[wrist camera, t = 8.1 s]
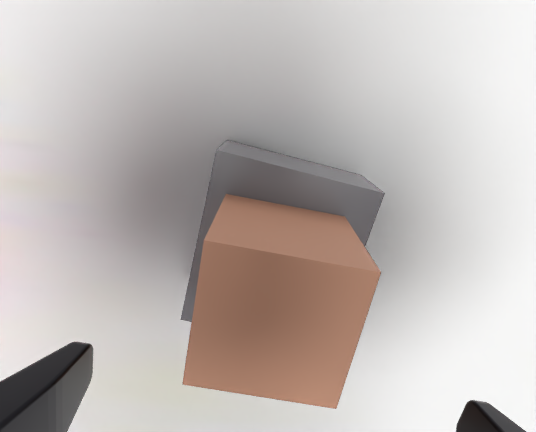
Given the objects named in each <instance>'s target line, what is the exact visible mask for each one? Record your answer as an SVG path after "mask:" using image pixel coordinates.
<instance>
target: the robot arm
mask: <svg viewBox="0 0 536 432" xmlns="http://www.w3.org/2000/svg"><path fill="white" fill-rule="evenodd" d="M92 372H93V347H92V345H91V344H88V343H82V342H72V343H70V344H68V345H66V346H64V347H63V348H61V349H59V350H57V351H55V352H53V353H52V354H50V355H48V356H46V357H44V358H42V359H41V360H39V361H37V362H35V363H33V364H32V365H30V366H28V367H26V368H24V369H22V370H21V371H19V372H17V373H15V374H13V375H11V376H10V377H8V378H6V379H4V380H2V381H1V382H0V432H67V431H68V428H69V426H70V424H71V422H72V420H73V418H74V416H75V414H76V411H77V409H78V407H79V405H80V403H81V401H82V399H83V397H84V394H85V392H86V390H87V388H88V386H89V384H90V381H91V378H92ZM456 432H526V431H525V430H523V429H522V428H521V427H519V426H518V425H517V424H515V423H514V422H513V421H511V420H510V419H509V418H508V417H506V416H505V415H504V414H502V413H501V412H500V411H498V410H497V409H496V408H494V407H493V406H492V405H490V404H489V403H486V402H482V401H475V400H470V401H469V402H467V404H466V406H465V408H464V410H463V412H462V414H461V417H460V419H459V421H458V423H457V427H456Z"/></svg>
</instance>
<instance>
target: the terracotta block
mask: <svg viewBox="0 0 536 432" xmlns="http://www.w3.org/2000/svg"><path fill="white" fill-rule="evenodd" d="M380 274H381V272H380V270H379V268H378V267H377V265H376V264H375V262H374V261H373V259H372V258H371V256H370V255H369V253H368V251H367V250H366V248H365V247H364V245H363V244H362V242H361V241H360V239H359V237H358V236H357V234H356V233H355V231H354V230H353V228H352V227H351V225H350V224H349V222H348V220H347V219H346V217H345V216H340V215H335V214H329V213H324V212H319V211H313V210H308V209H303V208H298V207H292V206H287V205H282V204H276V203H271V202H266V201H261V200H255V199H250V198H245V197H240V196H234V195H229V194H226V195H225V197H224V199H223V201H222V203H221V205H220V208H219V210H218V212H217V214H216V216H215V218H214V220H213V222H212V224H211V226H210V228H209V231H208V233H207V235H206V237H205V239H204V243H203V249H202V256H201V263H200V270H199V276H198V283H197V290H196V297H195V303H194V310H193V317H192V324H191V330H190V337H189V344H188V350H187V357H186V364H185V371H184V377H183V385H189V386H196V387H202V388H208V389H215V390H221V391H227V392H233V393H240V394H246V395H252V396H259V397H265V398H271V399H278V400H284V401H290V402H296V403H303V404H309V405H315V406H322V407H328V408H334V409H336V408H337V405H338V402H339V399H340V396H341V393H342V390H343V387H344V383H345V380H346V377H347V374H348V371H349V368H350V365H351V362H352V359H353V356H354V353H355V350H356V347H357V344H358V341H359V338H360V335H361V332H362V329H363V326H364V323H365V320H366V317H367V314H368V311H369V308H370V304H371V301H372V298H373V295H374V292H375V289H376V286H377V283H378V280H379V277H380Z"/></svg>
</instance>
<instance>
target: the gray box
mask: <svg viewBox="0 0 536 432" xmlns="http://www.w3.org/2000/svg"><path fill="white" fill-rule="evenodd" d="M226 194H229V195H234V196H240V197H245V198H250V199H255V200H261V201H266V202H271V203H276V204H282V205H287V206H292V207H298V208H303V209H308V210H313V211H319V212H324V213H329V214H335V215H340V216H345V217H346V219H347V220H348V222H349V224H350V225H351V227H352V228H353V230H354V231H355V233H356V234H357V236H358V237H359V239H360V241H361V242H362V244H363V245H364V247H365V245H366V242H367V239H368V237H369V234H370V231H371V229H372V226H373V223H374V221H375V218H376V215H377V212H378V210H379V207H380V204H381V202H382V199H383V196H384V194H385V193H384V192H383V191H381V190H380V189H379V188H377V187H376V186H375V185H374V184H372V183H371V182H370V181H368V180H367V179H366V178H365V177H363V176H362V175H359V174H355V173H351V172H348V171H344V170H340V169H336V168H332V167H328V166H325V165H321V164H317V163H313V162H309V161H305V160H302V159H298V158H294V157H290V156H286V155H282V154H279V153H275V152H271V151H267V150H263V149H260V148H256V147H252V146H248V145H244V144H240V143H237V142H233V141H229V140H227V141H225V142H224V143H223V144H222V145H221V146H220V147H219V148H218V149H217V150H216V155H215V160H214V164H213V169H212V174H211V179H210V183H209V188H208V193H207V197H206V202H205V207H204V212H203V216H202V221H201V226H200V231H199V235H198V240H197V245H196V249H195V254H194V259H193V264H192V268H191V273H190V278H189V283H188V287H187V292H186V297H185V301H184V306H183V311H182V316H181V320H185V321H190V322H192V317H193V310H194V303H195V297H196V290H197V283H198V276H199V270H200V263H201V256H202V249H203V243H204V239H205V237H206V235H207V233H208V231H209V228H210V226H211V224H212V222H213V220H214V218H215V216H216V214H217V212H218V210H219V208H220V205H221V203H222V201H223V199H224V197H225V195H226Z"/></svg>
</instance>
